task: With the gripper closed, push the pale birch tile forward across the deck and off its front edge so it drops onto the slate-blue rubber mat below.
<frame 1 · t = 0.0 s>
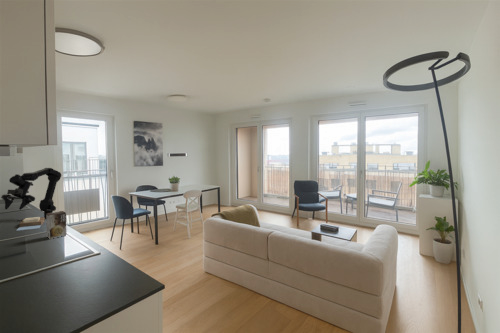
hand: (12, 209, 164), 15 cm above the counter, tool tilted 35°, fingers open, 9 cm apart
tile: (31, 221, 177), point 3 cm above the counter, touching deck
mat: (29, 228, 171), on the counter
deck: (32, 224, 180), on the counter
coffee box: (56, 237, 157), on the counter
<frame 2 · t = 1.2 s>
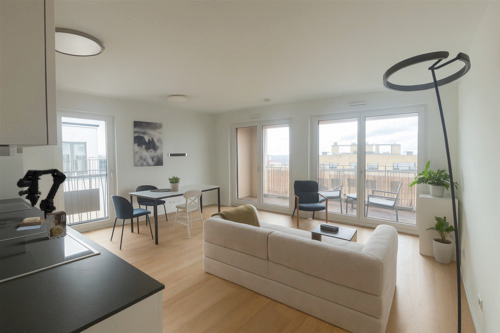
hand: (33, 205, 183), 13 cm above the counter, tool pointing down, fingers open, 6 cm apart
nothing on the counter moved.
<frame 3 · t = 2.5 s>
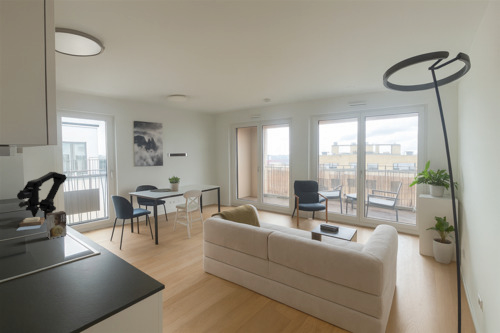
hand: (34, 216, 184), 4 cm above the counter, tool pointing down, fingers closed
nothing on the counter moved.
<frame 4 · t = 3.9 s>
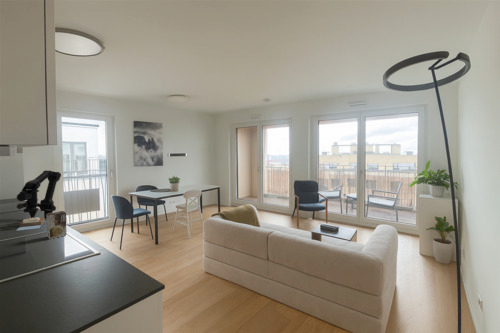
hand: (32, 218, 180), 4 cm above the counter, tool pointing down, fingers closed
tile: (31, 221, 177), point 3 cm above the counter, touching deck, gripper
everything else where it was.
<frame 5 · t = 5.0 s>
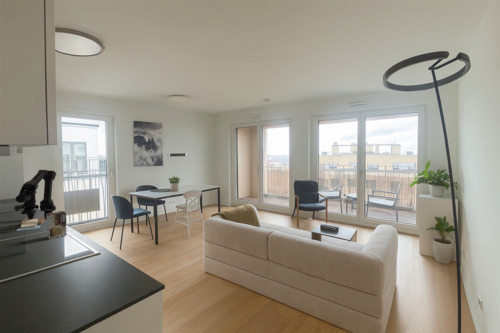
hand: (30, 220, 175), 4 cm above the counter, tool pointing down, fingers closed
tile: (29, 224, 173), point 2 cm above the counter, tilted 31°, touching gripper
everything else where it was.
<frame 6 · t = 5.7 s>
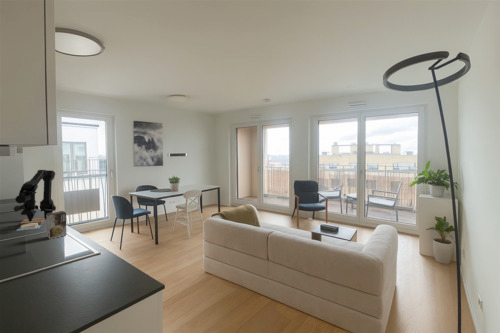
hand: (30, 221, 174), 4 cm above the counter, tool pointing down, fingers closed
tile: (29, 227, 171), resting on mat
everything else where it was.
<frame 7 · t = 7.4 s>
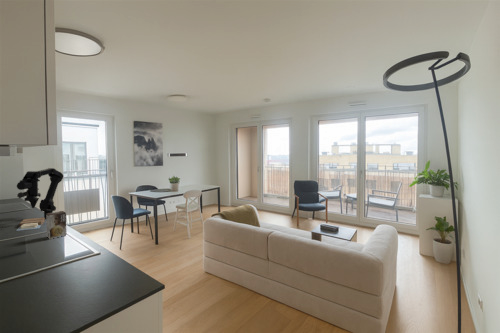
hand: (33, 207, 181), 12 cm above the counter, tool pointing down, fingers closed
nothing on the counter moved.
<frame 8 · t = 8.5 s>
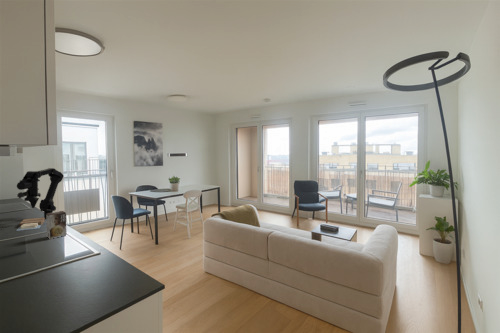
hand: (33, 207, 181), 12 cm above the counter, tool pointing down, fingers closed
nothing on the counter moved.
at the end: tile inside the target area (1.1 cm from its centre), resting on mat; tile touching mat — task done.
